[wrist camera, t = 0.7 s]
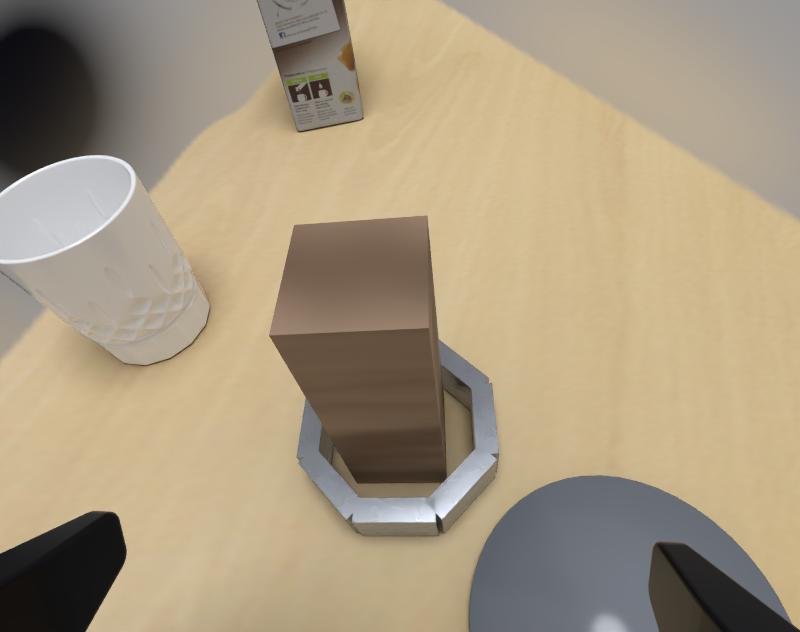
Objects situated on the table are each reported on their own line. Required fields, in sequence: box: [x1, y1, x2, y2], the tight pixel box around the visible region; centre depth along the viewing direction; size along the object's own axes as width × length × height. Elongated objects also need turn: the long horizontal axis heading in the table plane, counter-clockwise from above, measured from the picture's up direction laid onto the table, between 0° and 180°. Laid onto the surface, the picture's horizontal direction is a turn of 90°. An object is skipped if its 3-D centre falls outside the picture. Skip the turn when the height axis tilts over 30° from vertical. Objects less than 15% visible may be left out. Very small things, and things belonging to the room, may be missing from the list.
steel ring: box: [297, 340, 499, 536], centre depth 24 cm, size 9×9×2 cm
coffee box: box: [257, 0, 363, 131], centre depth 39 cm, size 9×6×16 cm
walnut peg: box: [269, 216, 447, 483], centre depth 19 cm, size 4×4×13 cm
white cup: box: [0, 155, 210, 365], centre depth 27 cm, size 8×8×10 cm
